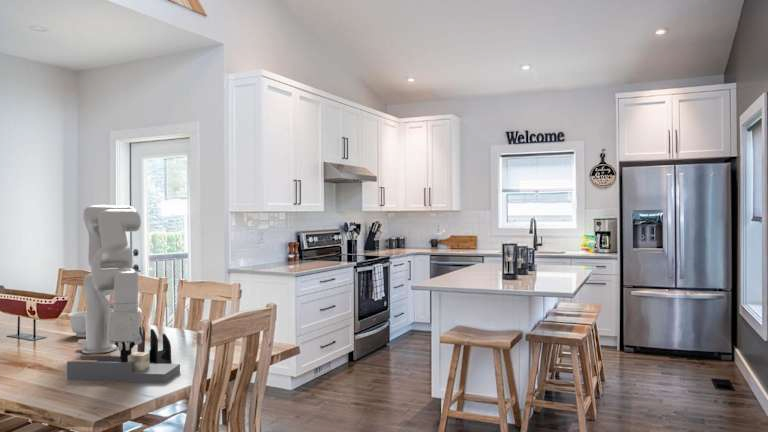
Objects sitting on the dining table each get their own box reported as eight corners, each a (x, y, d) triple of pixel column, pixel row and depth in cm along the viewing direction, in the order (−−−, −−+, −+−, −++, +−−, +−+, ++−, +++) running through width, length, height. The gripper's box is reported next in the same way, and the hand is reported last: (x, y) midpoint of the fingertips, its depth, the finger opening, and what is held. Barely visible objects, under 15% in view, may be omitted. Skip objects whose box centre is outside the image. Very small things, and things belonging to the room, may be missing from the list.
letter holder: (142, 369, 198) (142, 329, 197) (137, 356, 215) (137, 320, 215) (171, 365, 202) (171, 327, 202) (164, 353, 220) (164, 317, 220)
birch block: (127, 370, 185) (127, 355, 185) (135, 366, 190) (135, 351, 190) (142, 370, 184) (142, 356, 184) (149, 366, 189) (149, 352, 189)
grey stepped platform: (63, 381, 183) (63, 362, 182) (85, 370, 195) (85, 352, 194) (164, 383, 181) (164, 364, 181) (180, 372, 193) (180, 354, 193)
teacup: (71, 341, 238) (71, 317, 238) (65, 334, 250) (65, 312, 250) (102, 337, 246) (102, 314, 246) (95, 331, 258) (95, 309, 257)
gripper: (98, 309, 184) (98, 363, 184) (141, 309, 183) (141, 364, 183) (110, 305, 192) (110, 358, 192) (152, 305, 191) (152, 358, 191)
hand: (125, 361), depth 187 cm, fingers closed
